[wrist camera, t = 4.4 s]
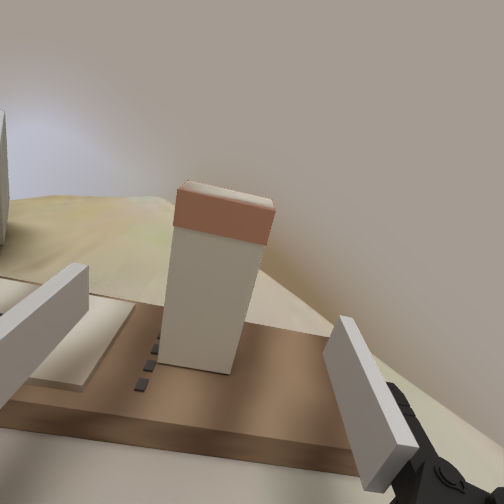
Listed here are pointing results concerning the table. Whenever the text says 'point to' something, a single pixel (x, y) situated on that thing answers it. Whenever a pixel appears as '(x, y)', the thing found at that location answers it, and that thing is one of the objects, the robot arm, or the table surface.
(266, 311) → the table surface
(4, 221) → the supplement box
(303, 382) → the board
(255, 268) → the stub
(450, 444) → the table surface
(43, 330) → the robot arm
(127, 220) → the table surface
